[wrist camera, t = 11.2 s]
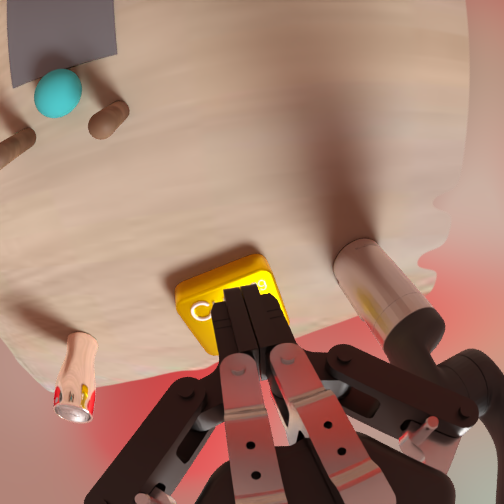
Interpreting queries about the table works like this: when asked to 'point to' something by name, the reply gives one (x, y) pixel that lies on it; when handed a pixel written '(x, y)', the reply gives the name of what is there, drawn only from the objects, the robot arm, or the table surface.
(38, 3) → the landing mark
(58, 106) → the ball
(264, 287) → the element tile
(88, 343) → the silver metal tumbler
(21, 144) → the post
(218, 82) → the table surface
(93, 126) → the post
